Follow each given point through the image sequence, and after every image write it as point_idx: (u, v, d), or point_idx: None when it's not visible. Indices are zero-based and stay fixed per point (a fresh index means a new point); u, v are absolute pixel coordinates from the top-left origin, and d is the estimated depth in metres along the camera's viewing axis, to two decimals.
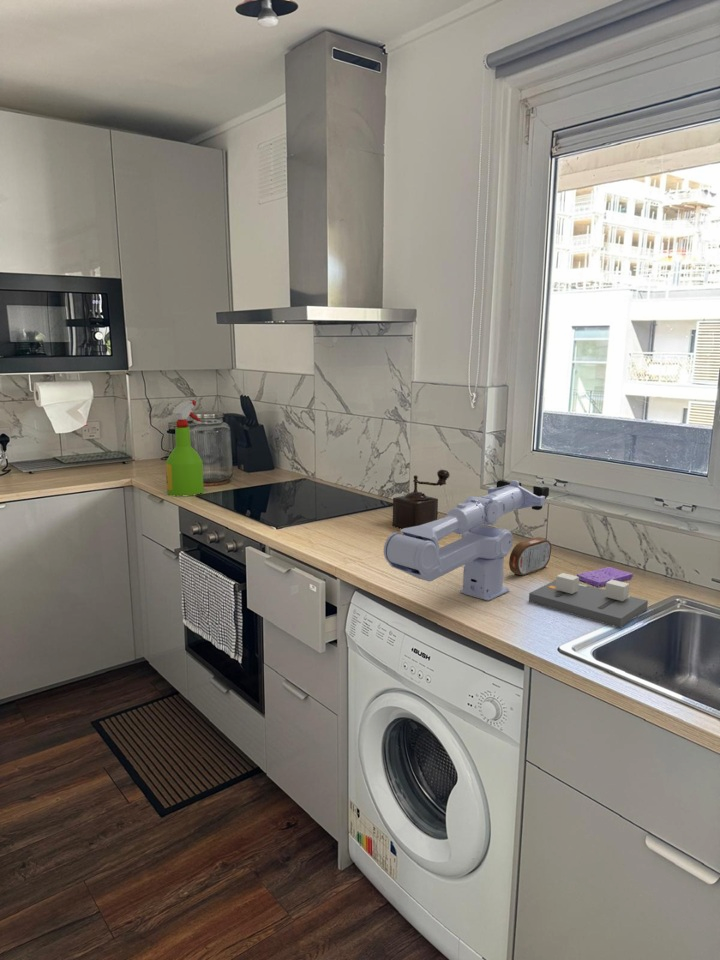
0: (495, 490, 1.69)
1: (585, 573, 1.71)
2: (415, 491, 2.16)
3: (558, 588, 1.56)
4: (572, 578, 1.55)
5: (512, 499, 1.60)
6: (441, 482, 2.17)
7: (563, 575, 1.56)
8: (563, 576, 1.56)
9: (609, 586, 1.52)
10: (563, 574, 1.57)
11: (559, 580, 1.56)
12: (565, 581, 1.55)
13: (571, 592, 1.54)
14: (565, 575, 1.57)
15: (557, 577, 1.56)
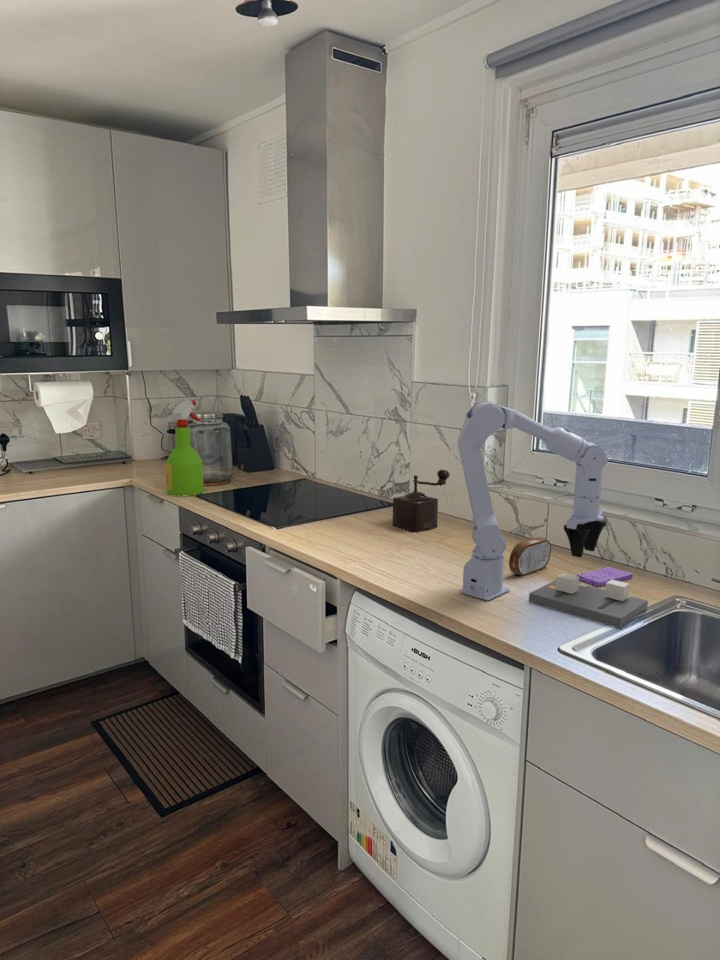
0: None
1: (585, 573, 1.71)
2: (415, 491, 2.16)
3: (558, 588, 1.56)
4: (572, 578, 1.55)
5: (595, 496, 1.55)
6: (441, 482, 2.17)
7: (563, 575, 1.56)
8: (563, 576, 1.56)
9: (609, 586, 1.52)
10: (563, 574, 1.57)
11: (559, 580, 1.56)
12: (565, 581, 1.55)
13: (571, 592, 1.54)
14: (565, 575, 1.57)
15: (557, 577, 1.56)
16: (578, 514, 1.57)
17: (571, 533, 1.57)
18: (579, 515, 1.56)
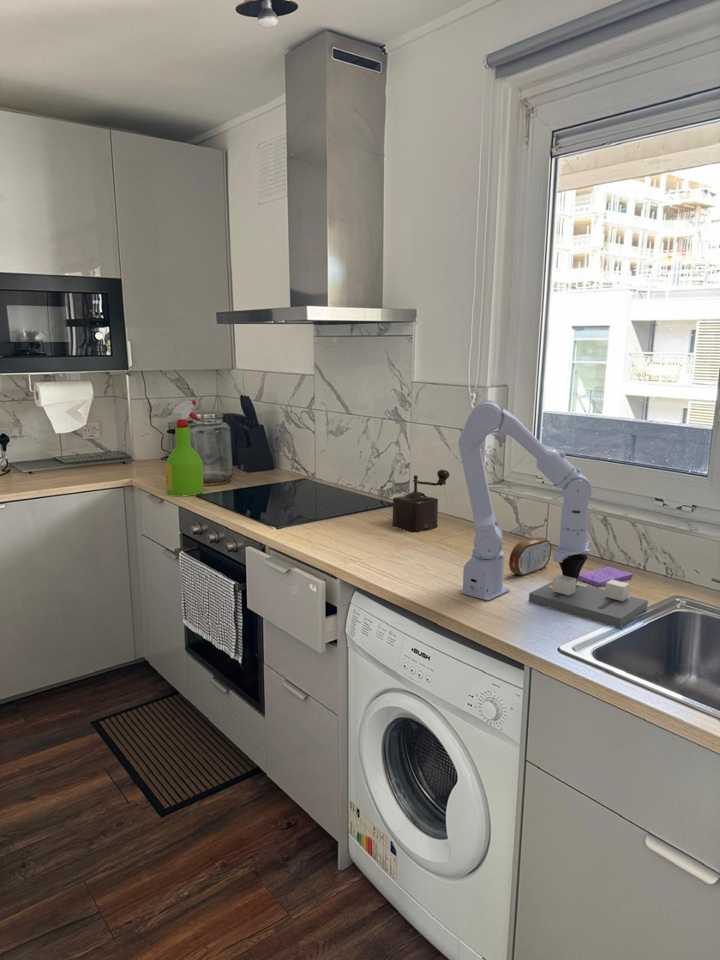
0: None
1: (585, 573, 1.71)
2: (415, 491, 2.16)
3: (555, 590, 1.55)
4: (569, 579, 1.54)
5: (579, 529, 1.52)
6: (441, 482, 2.17)
7: (560, 577, 1.55)
8: (560, 578, 1.55)
9: (609, 586, 1.52)
10: (560, 575, 1.56)
11: (556, 581, 1.55)
12: (562, 583, 1.54)
13: (568, 594, 1.53)
14: (562, 577, 1.56)
15: (554, 578, 1.55)
16: (565, 546, 1.54)
17: (564, 563, 1.56)
18: (566, 547, 1.54)
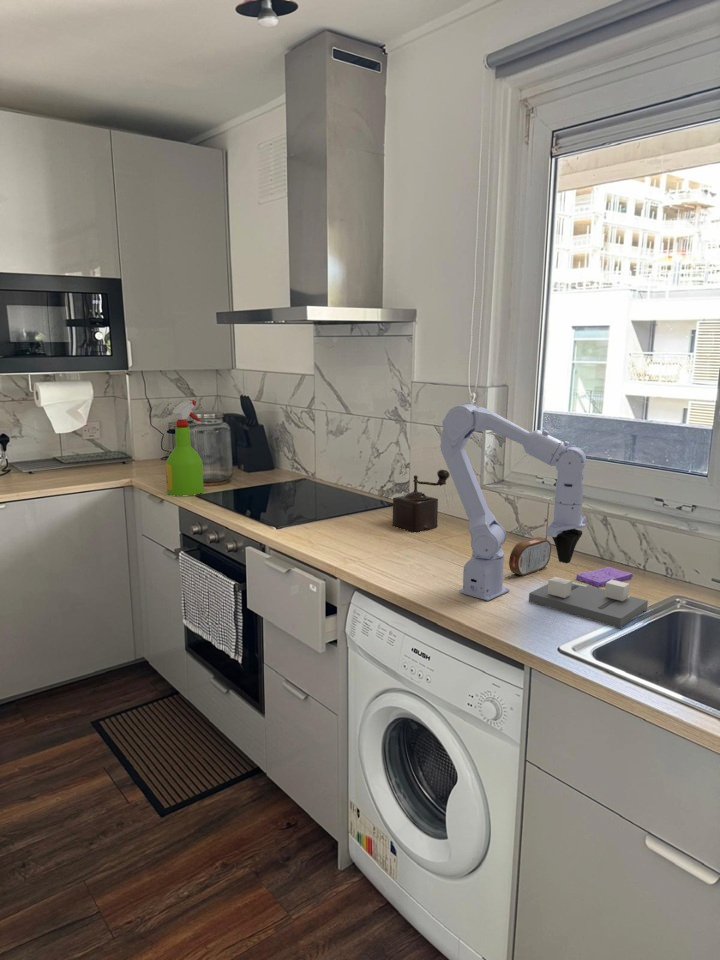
0: None
1: (585, 573, 1.71)
2: (415, 491, 2.16)
3: (550, 592, 1.54)
4: (564, 582, 1.52)
5: (571, 503, 1.48)
6: (441, 482, 2.17)
7: (555, 579, 1.54)
8: (555, 580, 1.53)
9: (609, 586, 1.52)
10: (555, 578, 1.55)
11: (551, 584, 1.53)
12: (557, 585, 1.52)
13: (563, 596, 1.52)
14: (557, 579, 1.54)
15: (549, 581, 1.54)
16: (559, 521, 1.50)
17: (558, 538, 1.53)
18: (560, 522, 1.50)
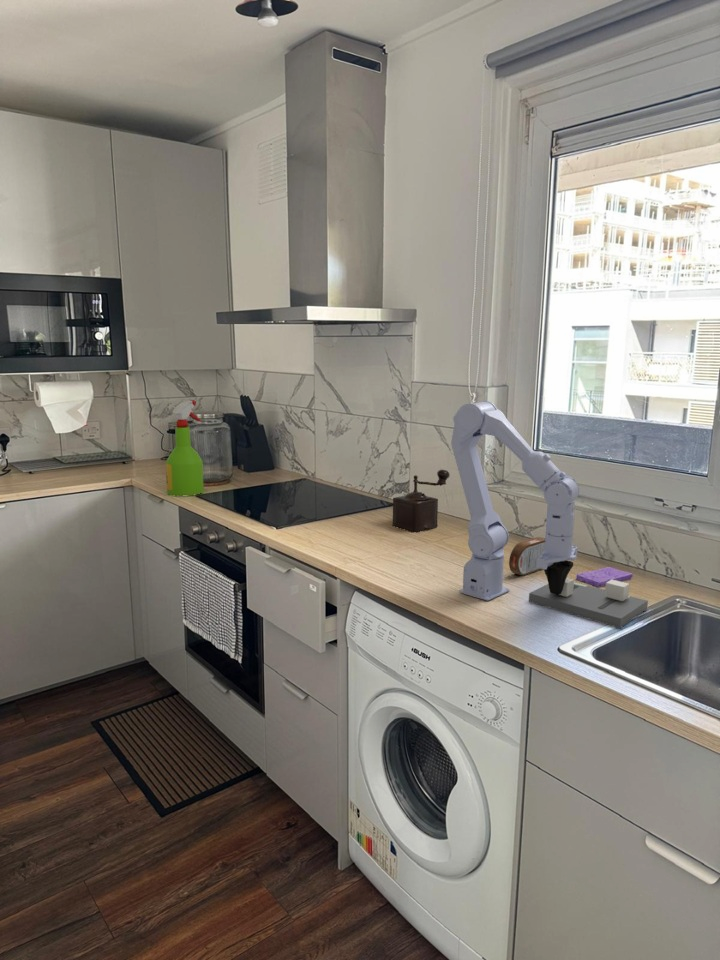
0: (572, 550, 1.54)
1: (585, 573, 1.71)
2: (415, 491, 2.16)
3: None
4: (567, 581, 1.53)
5: (559, 534, 1.47)
6: (441, 482, 2.17)
7: None
8: None
9: (609, 586, 1.52)
10: None
11: None
12: None
13: (566, 595, 1.52)
14: None
15: None
16: (549, 553, 1.49)
17: (549, 570, 1.51)
18: (550, 554, 1.49)
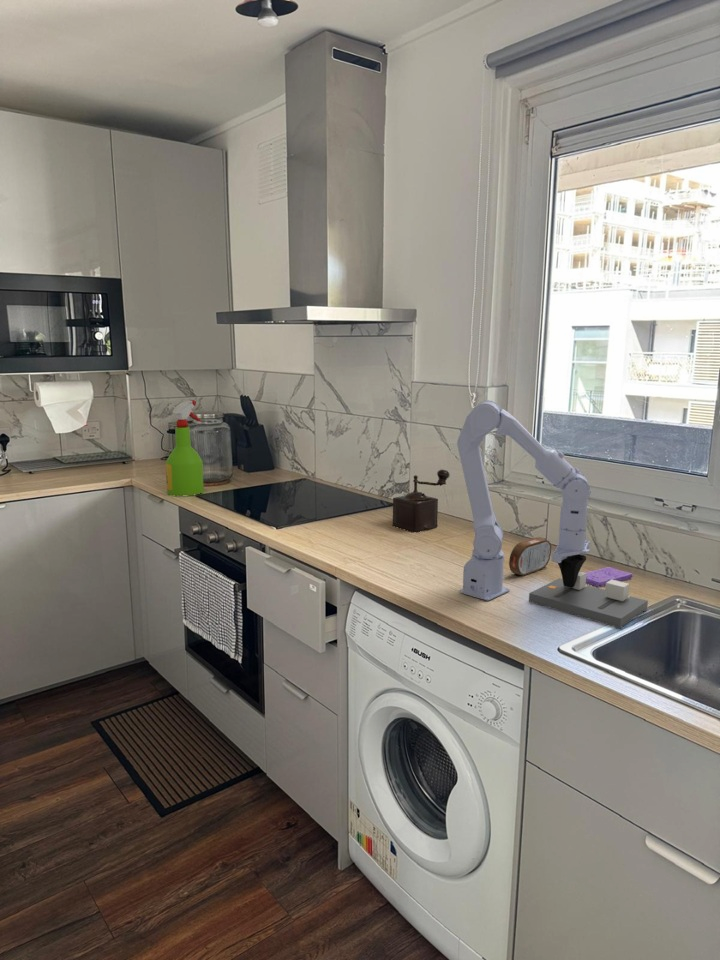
0: (585, 544, 1.59)
1: None
2: (415, 491, 2.16)
3: None
4: (579, 574, 1.57)
5: (578, 529, 1.52)
6: (441, 482, 2.17)
7: None
8: None
9: (609, 586, 1.52)
10: None
11: None
12: None
13: (578, 588, 1.57)
14: None
15: None
16: (563, 547, 1.53)
17: (563, 563, 1.56)
18: (564, 548, 1.53)
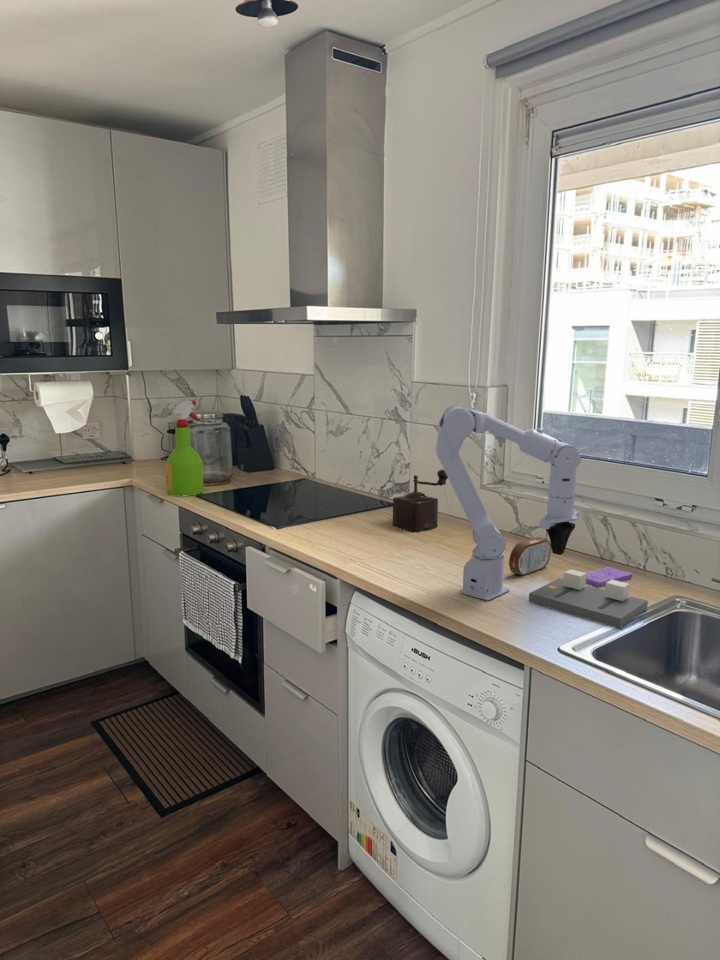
0: None
1: None
2: (415, 491, 2.16)
3: (566, 584, 1.59)
4: (579, 574, 1.57)
5: (569, 496, 1.55)
6: (441, 482, 2.17)
7: (570, 572, 1.59)
8: (570, 573, 1.58)
9: (609, 586, 1.52)
10: (570, 570, 1.60)
11: (567, 576, 1.58)
12: (572, 577, 1.57)
13: (578, 588, 1.57)
14: (572, 571, 1.59)
15: (565, 573, 1.59)
16: (552, 514, 1.56)
17: (551, 531, 1.59)
18: (553, 515, 1.56)
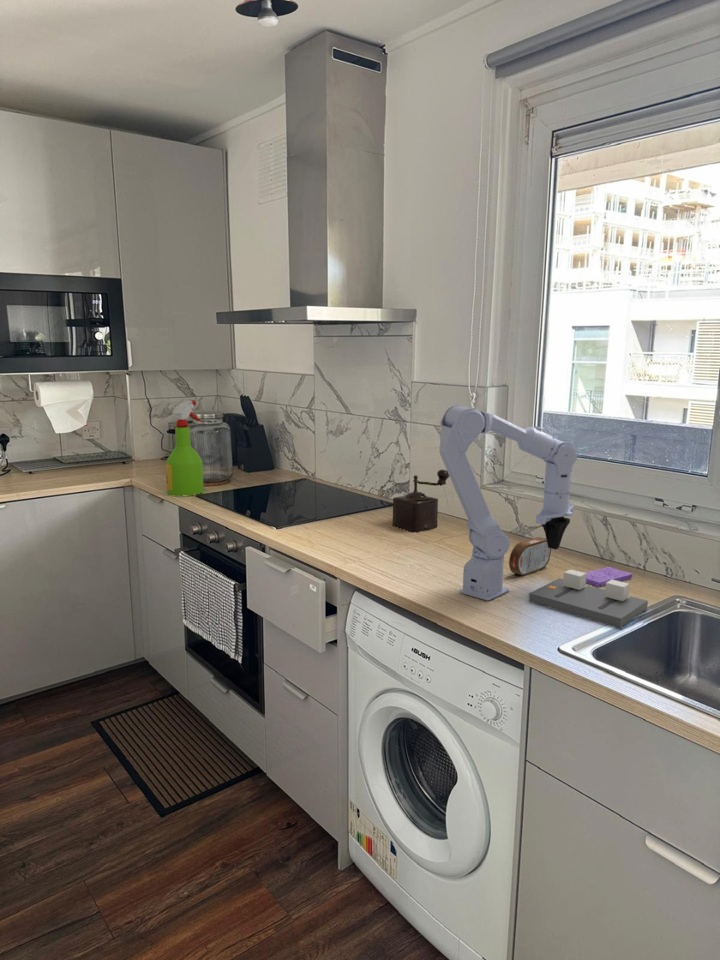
0: None
1: None
2: (415, 491, 2.16)
3: (566, 584, 1.59)
4: (579, 574, 1.57)
5: (566, 492, 1.59)
6: (441, 482, 2.17)
7: (570, 572, 1.59)
8: (570, 573, 1.58)
9: (609, 586, 1.52)
10: (570, 570, 1.60)
11: (567, 576, 1.58)
12: (572, 577, 1.57)
13: (578, 588, 1.57)
14: (572, 571, 1.59)
15: (565, 573, 1.59)
16: (548, 510, 1.61)
17: (547, 526, 1.63)
18: (549, 511, 1.60)
